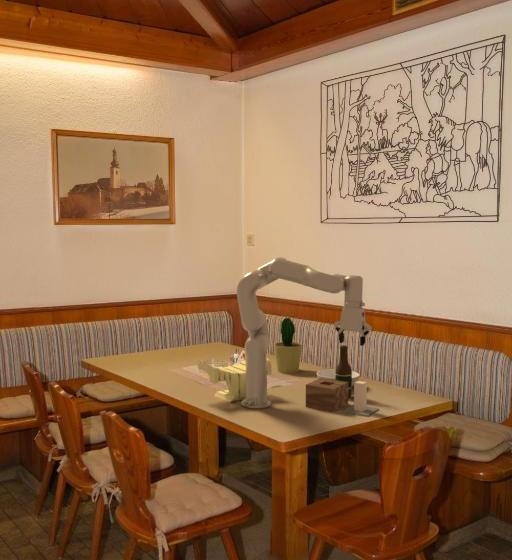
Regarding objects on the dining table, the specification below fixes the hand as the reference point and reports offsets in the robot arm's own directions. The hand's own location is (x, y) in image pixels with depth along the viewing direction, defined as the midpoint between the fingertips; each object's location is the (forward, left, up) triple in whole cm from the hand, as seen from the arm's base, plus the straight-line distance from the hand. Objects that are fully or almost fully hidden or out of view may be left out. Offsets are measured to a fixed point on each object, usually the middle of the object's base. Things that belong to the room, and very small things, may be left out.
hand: (351, 343), depth 282 cm
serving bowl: (+32, +22, -29) cm, 49 cm away
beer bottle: (+17, +12, -29) cm, 36 cm away
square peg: (0, -4, -28) cm, 29 cm away
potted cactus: (+49, +60, -29) cm, 83 cm away
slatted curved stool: (-11, +54, -29) cm, 62 cm away
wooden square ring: (0, +12, -29) cm, 31 cm away
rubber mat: (0, -4, -29) cm, 29 cm away
